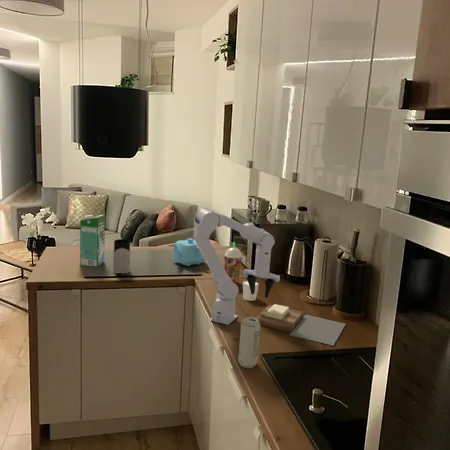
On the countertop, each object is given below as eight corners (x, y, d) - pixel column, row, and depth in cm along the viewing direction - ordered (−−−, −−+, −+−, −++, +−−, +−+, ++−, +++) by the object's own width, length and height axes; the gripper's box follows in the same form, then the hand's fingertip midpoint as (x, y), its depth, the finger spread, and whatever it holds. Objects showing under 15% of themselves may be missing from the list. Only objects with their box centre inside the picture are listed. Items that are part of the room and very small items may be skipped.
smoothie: (234, 287, 222) (237, 245, 218) (219, 283, 226) (221, 241, 222) (243, 282, 229) (246, 242, 225) (228, 278, 233) (231, 238, 229)
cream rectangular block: (281, 319, 182) (281, 314, 182) (266, 316, 184) (266, 311, 184) (288, 311, 190) (288, 307, 190) (274, 308, 192) (274, 303, 192)
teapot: (177, 257, 263) (178, 233, 260) (207, 260, 261) (208, 236, 258) (169, 267, 246) (170, 241, 243) (200, 270, 243) (202, 244, 241)
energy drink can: (241, 357, 155) (245, 314, 152) (259, 362, 153) (263, 318, 150) (235, 365, 150) (238, 320, 147) (253, 370, 148) (257, 325, 145)
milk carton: (87, 260, 247) (87, 212, 242) (104, 262, 246) (105, 214, 241) (79, 265, 238) (80, 215, 233) (97, 267, 237) (98, 217, 232)
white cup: (256, 302, 205) (257, 286, 204) (240, 299, 207) (241, 284, 205) (258, 296, 212) (259, 281, 210) (243, 294, 213) (244, 279, 212)
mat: (333, 346, 168) (333, 345, 168) (289, 335, 175) (289, 334, 174) (345, 324, 188) (345, 323, 188) (305, 315, 194) (305, 314, 194)
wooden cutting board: (290, 332, 177) (291, 325, 177) (255, 323, 183) (255, 317, 182) (302, 317, 192) (303, 311, 191) (269, 310, 197) (269, 304, 197)
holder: (112, 274, 228) (112, 243, 225) (111, 265, 242) (112, 236, 239) (131, 273, 231) (131, 243, 227) (129, 265, 244) (130, 236, 241)
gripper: (283, 263, 187) (280, 296, 190) (249, 256, 193) (246, 288, 196) (277, 267, 181) (274, 301, 184) (242, 260, 187) (239, 293, 189)
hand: (259, 295), depth 189 cm, fingers open, 5 cm apart
